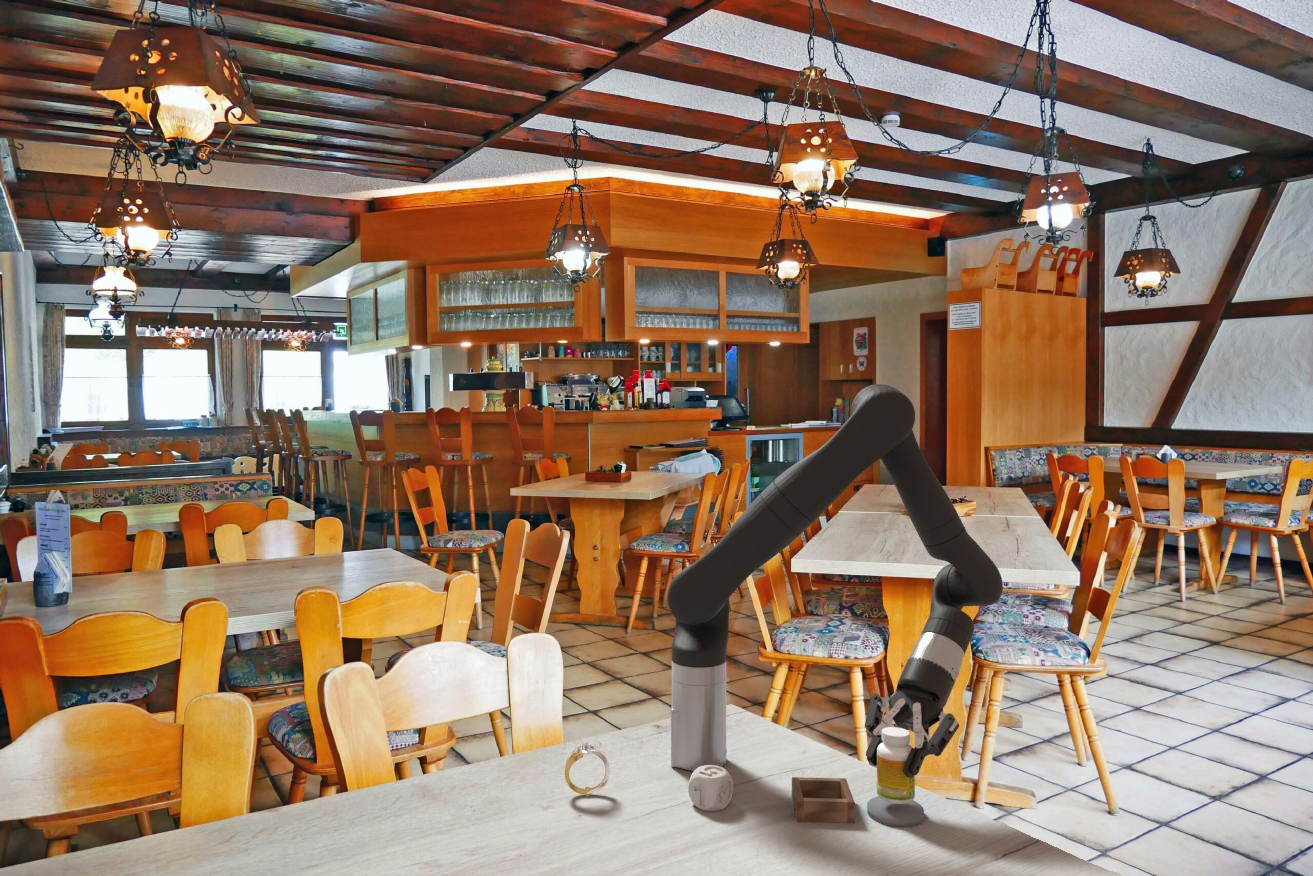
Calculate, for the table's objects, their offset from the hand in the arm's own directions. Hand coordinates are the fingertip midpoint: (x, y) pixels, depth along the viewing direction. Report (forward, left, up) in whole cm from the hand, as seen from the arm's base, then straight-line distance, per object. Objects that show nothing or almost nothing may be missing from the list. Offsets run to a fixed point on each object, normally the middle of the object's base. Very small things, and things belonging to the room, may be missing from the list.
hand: (889, 768), depth 128 cm
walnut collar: (-9, +2, -7) cm, 12 cm away
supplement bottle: (+1, +1, -5) cm, 5 cm away
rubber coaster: (+1, +1, -7) cm, 7 cm away
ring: (-45, +5, -7) cm, 46 cm away
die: (-26, +3, -7) cm, 27 cm away
